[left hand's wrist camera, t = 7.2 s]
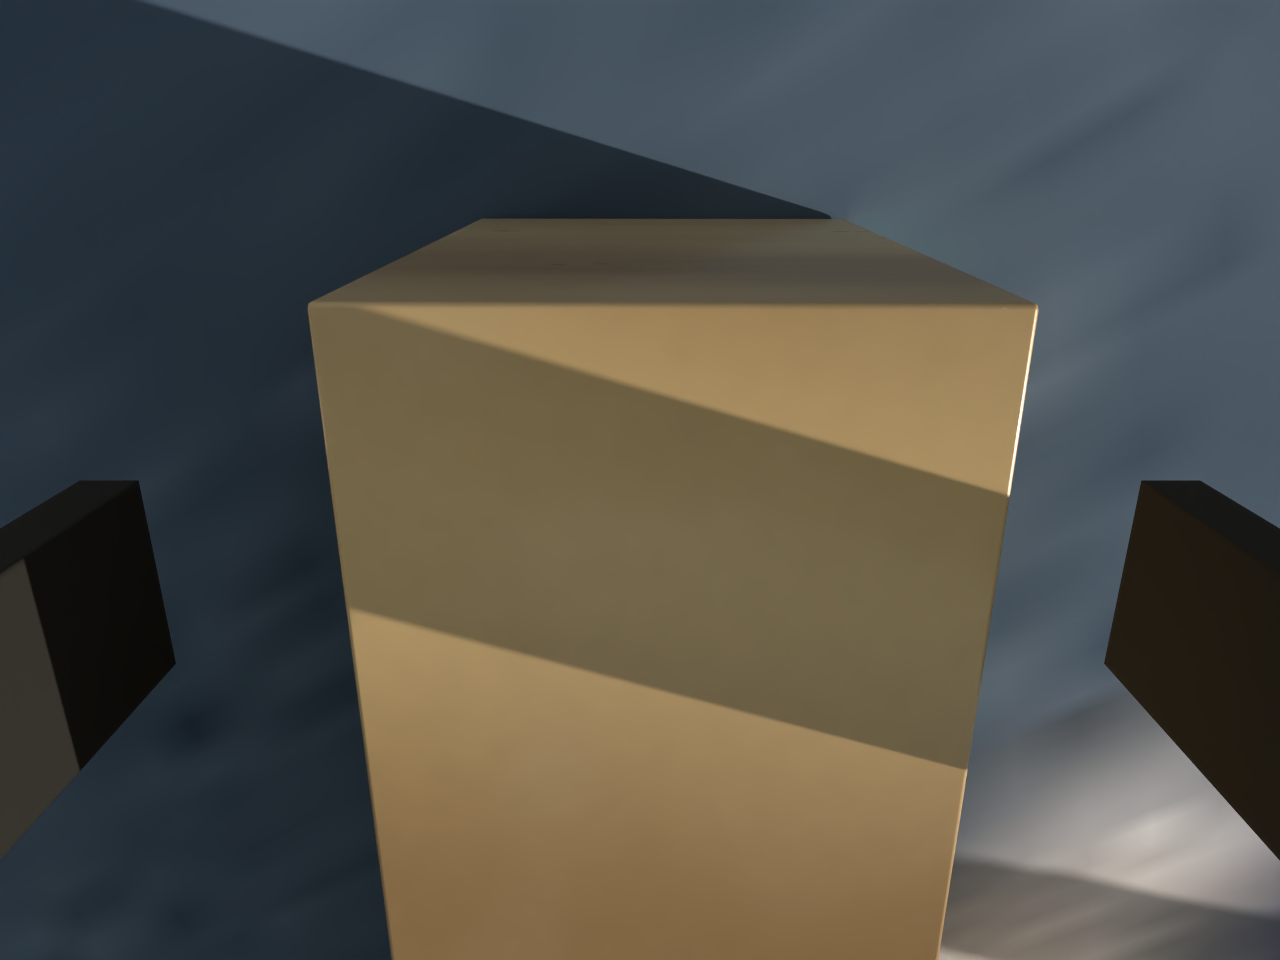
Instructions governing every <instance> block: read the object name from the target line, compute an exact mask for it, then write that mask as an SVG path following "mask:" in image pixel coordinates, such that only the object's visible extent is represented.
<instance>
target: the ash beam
mask: <svg viewBox="0 0 1280 960" xmlns="http://www.w3.org/2000/svg"><path fill="white" fill-rule="evenodd" d="M308 316H309V324H310V331H311V339H312V347H313V355H314V362H315V370H316V378H317V386H318V393H319V401H320V409H321V417H322V424H323V432H324V440H325V448H326V456H327V463H328V471H329V479H330V487H331V494H332V502H333V510H334V518H335V525H336V533H337V541H338V549H339V556H340V564H341V572H342V580H343V587H344V595H345V603H346V611H347V618H348V626H349V634H350V642H351V649H352V657H353V665H354V673H355V681H356V688H357V696H358V704H359V712H360V719H361V727H362V735H363V743H364V750H365V758H366V766H367V774H368V781H369V789H370V797H371V805H372V812H373V820H374V828H375V836H376V843H377V851H378V859H379V867H380V875H381V882H382V890H383V898H384V906H385V913H386V921H387V929H388V937H389V944H390V952H391V960H938V957H939V951H940V944H941V938H942V931H943V925H944V918H945V912H946V905H947V899H948V892H949V886H950V879H951V873H952V867H953V860H954V854H955V847H956V841H957V834H958V828H959V821H960V815H961V808H962V802H963V795H964V789H965V782H966V776H967V769H968V763H969V756H970V750H971V743H972V737H973V730H974V724H975V717H976V711H977V704H978V698H979V692H980V685H981V679H982V672H983V666H984V659H985V653H986V646H987V640H988V633H989V627H990V620H991V614H992V607H993V601H994V594H995V588H996V581H997V575H998V568H999V562H1000V555H1001V549H1002V542H1003V536H1004V529H1005V523H1006V517H1007V510H1008V504H1009V497H1010V491H1011V484H1012V478H1013V471H1014V465H1015V458H1016V452H1017V445H1018V439H1019V432H1020V426H1021V419H1022V413H1023V406H1024V400H1025V393H1026V387H1027V380H1028V374H1029V367H1030V361H1031V355H1032V348H1033V342H1034V335H1035V329H1036V322H1037V316H1038V306H1037V304H1035V303H1033V302H1030V301H1028V300H1026V299H1023V298H1021V297H1019V296H1017V295H1014V294H1012V293H1010V292H1008V291H1005V290H1003V289H1001V288H999V287H996V286H994V285H992V284H990V283H987V282H985V281H983V280H980V279H978V278H976V277H974V276H971V275H969V274H967V273H965V272H962V271H960V270H958V269H956V268H953V267H951V266H949V265H947V264H944V263H942V262H940V261H937V260H935V259H933V258H931V257H928V256H926V255H924V254H922V253H919V252H917V251H915V250H913V249H910V248H908V247H906V246H904V245H901V244H899V243H897V242H894V241H892V240H890V239H888V238H885V237H883V236H881V235H879V234H876V233H874V232H872V231H870V230H867V229H865V228H863V227H860V226H858V225H856V224H854V223H851V222H849V221H847V220H845V219H480V220H478V221H476V222H474V223H472V224H470V225H468V226H466V227H464V228H462V229H459V230H457V231H455V232H453V233H451V234H449V235H447V236H445V237H443V238H441V239H439V240H437V241H435V242H433V243H431V244H429V245H427V246H425V247H423V248H420V249H418V250H416V251H414V252H412V253H410V254H408V255H406V256H404V257H402V258H400V259H398V260H396V261H394V262H392V263H390V264H388V265H386V266H384V267H381V268H379V269H377V270H375V271H373V272H371V273H369V274H367V275H365V276H363V277H361V278H359V279H357V280H355V281H353V282H351V283H349V284H347V285H345V286H342V287H340V288H338V289H336V290H334V291H332V292H330V293H328V294H326V295H324V296H322V297H320V298H318V299H316V300H314V301H312V302H310V303H309V304H308Z"/></svg>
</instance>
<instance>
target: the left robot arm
mask: <svg viewBox="0 0 1280 960" xmlns="http://www.w3.org/2000/svg"><path fill="white" fill-rule="evenodd" d="M175 664H176V662H175V658H174V653H173V648H172V643H171V638H170V633H169V628H168V623H167V618H166V613H165V608H164V603H163V599H162V594H161V589H160V584H159V579H158V574H157V569H156V564H155V559H154V554H153V549H152V544H151V540H150V535H149V530H148V525H147V520H146V515H145V510H144V505H143V500H142V495H141V490H140V486H139V481H79V482H77V483H75V484H74V485H72V486H70V487H69V488H67V489H65V490H64V491H62V492H60V493H59V494H57V495H55V496H54V497H52V498H50V499H49V500H47V501H45V502H44V503H42V504H40V505H39V506H37V507H35V508H34V509H32V510H30V511H29V512H27V513H25V514H24V515H22V516H20V517H19V518H17V519H16V520H14V521H12V522H11V523H9V524H7V525H6V526H4V527H2V528H1V529H0V860H1V859H2V858H3V857H4V856H5V854H6V853H7V852H8V851H9V850H10V849H11V848H12V847H13V845H14V844H15V843H16V842H17V841H18V840H19V839H20V838H21V836H22V835H23V834H24V833H25V832H26V831H27V830H28V829H29V828H30V826H31V825H32V824H33V823H34V822H35V821H36V820H37V819H38V817H39V816H40V815H41V814H42V813H43V812H44V811H45V810H46V808H47V807H48V806H49V805H50V804H51V803H52V802H53V801H54V799H55V798H56V797H57V796H58V795H59V794H60V793H61V792H62V790H63V789H64V788H65V787H66V786H67V785H68V784H69V783H70V782H71V780H72V779H73V778H74V777H75V776H76V775H77V774H78V773H79V771H80V770H81V769H82V768H83V767H84V766H85V765H86V764H87V762H88V761H89V760H90V759H91V758H92V757H93V756H94V755H95V753H96V752H97V751H98V750H99V749H100V748H101V747H102V746H103V745H104V743H105V742H106V741H107V740H108V739H109V738H110V737H111V736H112V734H113V733H114V732H115V731H116V730H117V729H118V728H119V727H120V725H121V724H122V723H123V722H124V721H125V720H126V719H127V718H128V716H129V715H130V714H131V713H132V712H133V711H134V710H135V709H136V708H137V706H138V705H139V704H140V703H141V702H142V701H143V700H144V699H145V697H146V696H147V695H148V694H149V693H150V692H151V691H152V690H153V688H154V687H155V686H156V685H157V684H158V683H159V682H160V681H161V679H162V678H163V677H164V676H165V675H166V674H167V673H168V672H169V670H170V669H171V668H172V667H173V666H174V665H175ZM1104 664H1105V665H1106V666H1107V667H1108V668H1109V669H1110V670H1111V672H1112V673H1113V674H1114V675H1115V676H1116V677H1117V678H1118V679H1119V681H1120V682H1121V683H1122V684H1123V685H1124V686H1125V687H1126V688H1127V690H1128V691H1129V692H1130V693H1131V694H1132V695H1133V696H1134V697H1135V699H1136V700H1137V701H1138V702H1139V703H1140V704H1141V705H1142V706H1143V708H1144V709H1145V710H1146V711H1147V712H1148V713H1149V714H1150V715H1151V716H1152V718H1153V719H1154V720H1155V721H1156V722H1157V723H1158V724H1159V725H1160V727H1161V728H1162V729H1163V730H1164V731H1165V732H1166V733H1167V734H1168V736H1169V737H1170V738H1171V739H1172V740H1173V741H1174V742H1175V743H1176V745H1177V746H1178V747H1179V748H1180V749H1181V750H1182V751H1183V752H1184V753H1185V755H1186V756H1187V757H1188V758H1189V759H1190V760H1191V761H1192V762H1193V764H1194V765H1195V766H1196V767H1197V768H1198V769H1199V770H1200V771H1201V773H1202V774H1203V775H1204V776H1205V777H1206V778H1207V779H1208V780H1209V782H1210V783H1211V784H1212V785H1213V786H1214V787H1215V788H1216V789H1217V790H1218V792H1219V793H1220V794H1221V795H1222V796H1223V797H1224V798H1225V799H1226V801H1227V802H1228V803H1229V804H1230V805H1231V806H1232V807H1233V808H1234V810H1235V811H1236V812H1237V813H1238V814H1239V815H1240V816H1241V817H1242V819H1243V820H1244V821H1245V822H1246V823H1247V824H1248V825H1249V826H1250V828H1251V829H1252V830H1253V831H1254V832H1255V833H1256V834H1257V835H1258V836H1259V838H1260V839H1261V840H1262V841H1263V842H1264V843H1265V844H1266V845H1267V847H1268V848H1269V849H1270V850H1271V851H1272V852H1273V853H1274V854H1275V856H1276V857H1277V858H1278V859H1279V860H1280V529H1279V528H1278V527H1276V526H1274V525H1273V524H1271V523H1269V522H1268V521H1266V520H1264V519H1263V518H1261V517H1260V516H1258V515H1256V514H1255V513H1253V512H1251V511H1250V510H1248V509H1246V508H1245V507H1243V506H1241V505H1240V504H1238V503H1236V502H1235V501H1233V500H1231V499H1230V498H1228V497H1226V496H1225V495H1223V494H1221V493H1220V492H1218V491H1216V490H1215V489H1213V488H1211V487H1210V486H1208V485H1206V484H1205V483H1203V482H1201V481H1141V485H1140V490H1139V495H1138V500H1137V505H1136V510H1135V515H1134V520H1133V525H1132V530H1131V535H1130V540H1129V544H1128V549H1127V554H1126V559H1125V564H1124V569H1123V574H1122V579H1121V584H1120V589H1119V594H1118V599H1117V603H1116V608H1115V613H1114V618H1113V623H1112V628H1111V633H1110V638H1109V643H1108V648H1107V653H1106V658H1105V662H1104Z"/></svg>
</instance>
